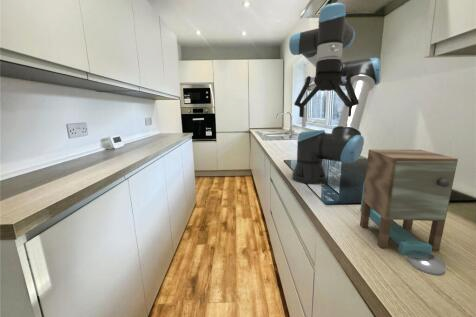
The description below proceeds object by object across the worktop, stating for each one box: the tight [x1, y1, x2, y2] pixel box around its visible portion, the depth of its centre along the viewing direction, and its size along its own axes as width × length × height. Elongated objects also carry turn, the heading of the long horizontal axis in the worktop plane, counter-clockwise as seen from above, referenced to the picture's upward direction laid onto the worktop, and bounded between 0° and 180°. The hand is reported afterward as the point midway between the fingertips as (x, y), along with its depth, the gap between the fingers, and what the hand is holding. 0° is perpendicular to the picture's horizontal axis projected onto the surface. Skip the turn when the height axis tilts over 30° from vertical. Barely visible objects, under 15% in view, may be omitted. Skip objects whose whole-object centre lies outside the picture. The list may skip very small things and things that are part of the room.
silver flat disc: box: [407, 251, 447, 276], centre depth 47 cm, size 6×6×2 cm
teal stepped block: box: [359, 181, 433, 256], centre depth 60 cm, size 23×6×10 cm, turn 175°
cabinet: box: [359, 149, 459, 252], centre depth 54 cm, size 13×13×22 cm
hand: (323, 127), depth 76 cm, fingers open, 13 cm apart
